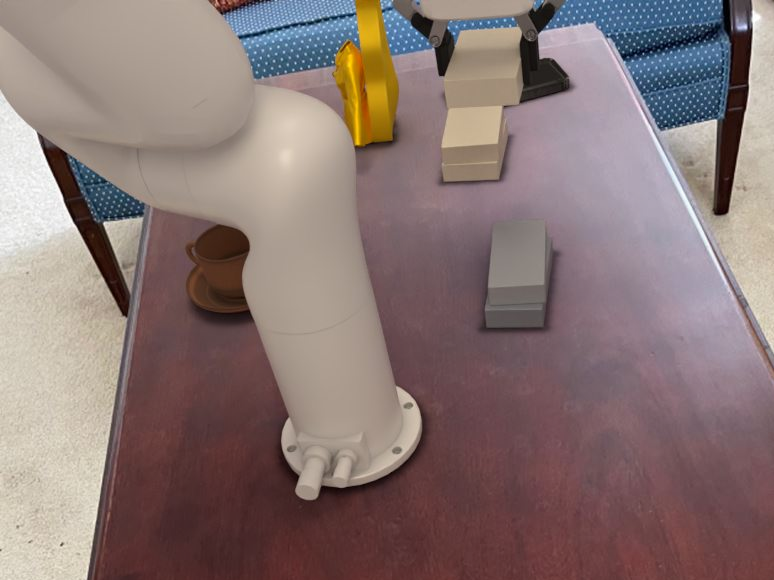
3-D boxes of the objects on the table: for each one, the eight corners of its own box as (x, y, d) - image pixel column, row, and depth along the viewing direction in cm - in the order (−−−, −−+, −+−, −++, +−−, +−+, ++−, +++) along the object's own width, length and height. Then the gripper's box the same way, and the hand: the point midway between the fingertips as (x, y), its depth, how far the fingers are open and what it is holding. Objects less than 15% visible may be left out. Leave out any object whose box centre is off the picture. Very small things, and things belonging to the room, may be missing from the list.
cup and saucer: (180, 327, 98) (158, 279, 94) (204, 260, 106) (186, 212, 102) (291, 318, 97) (275, 269, 92) (307, 250, 105) (293, 202, 100)
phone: (571, 79, 122) (461, 107, 120) (572, 88, 122) (462, 116, 121) (551, 55, 127) (445, 82, 125) (551, 64, 128) (446, 90, 126)
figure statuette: (346, 107, 127) (306, -72, 111) (403, 97, 127) (371, -83, 111) (346, 174, 115) (301, -15, 99) (410, 164, 115) (375, -27, 99)
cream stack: (501, 179, 110) (497, 144, 107) (441, 182, 111) (436, 147, 108) (510, 134, 117) (507, 100, 113) (454, 137, 118) (449, 103, 115)
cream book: (518, 105, 84) (516, 76, 82) (446, 108, 85) (442, 80, 83) (531, 53, 90) (528, 25, 89) (464, 57, 92) (460, 30, 90)
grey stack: (546, 327, 91) (543, 290, 88) (483, 328, 92) (478, 291, 89) (555, 254, 99) (553, 217, 95) (497, 255, 100) (493, 219, 97)
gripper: (350, -111, 74) (393, 105, 87) (571, -133, 71) (580, 95, 84) (371, -143, 79) (408, 66, 92) (578, -165, 75) (586, 56, 89)
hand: (490, 78), depth 88 cm, fingers closed on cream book, 6 cm apart
